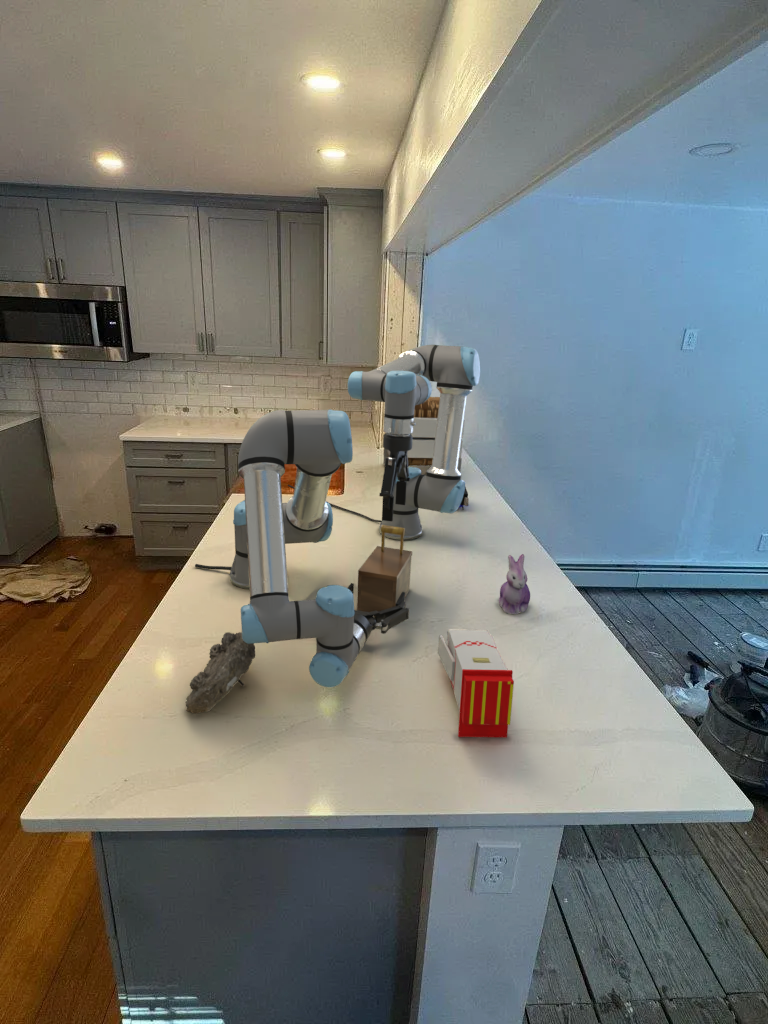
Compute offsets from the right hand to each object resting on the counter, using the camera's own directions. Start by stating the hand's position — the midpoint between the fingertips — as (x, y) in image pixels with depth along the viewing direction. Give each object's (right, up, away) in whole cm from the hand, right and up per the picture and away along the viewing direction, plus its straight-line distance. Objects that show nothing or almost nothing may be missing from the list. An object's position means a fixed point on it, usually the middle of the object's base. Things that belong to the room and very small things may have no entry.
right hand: (394, 512), depth 152 cm
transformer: (+15, +19, +123) cm, 126 cm away
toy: (+15, -38, -33) cm, 52 cm away
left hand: (-4, -20, -7) cm, 22 cm away
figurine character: (+28, +3, +80) cm, 84 cm away
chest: (-3, -24, +3) cm, 24 cm away
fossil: (-35, -36, -34) cm, 61 cm away
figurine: (+33, -26, +2) cm, 42 cm away
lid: (-2, -14, 0) cm, 14 cm away
